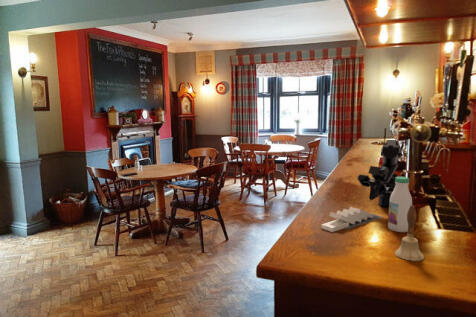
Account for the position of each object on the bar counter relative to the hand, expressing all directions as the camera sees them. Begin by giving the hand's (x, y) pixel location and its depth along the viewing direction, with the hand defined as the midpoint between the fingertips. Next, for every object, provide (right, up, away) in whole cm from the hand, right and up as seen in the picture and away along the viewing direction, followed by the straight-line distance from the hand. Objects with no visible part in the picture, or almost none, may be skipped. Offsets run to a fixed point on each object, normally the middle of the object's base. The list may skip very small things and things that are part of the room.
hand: (370, 199), depth 147 cm
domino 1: (-11, -7, -8) cm, 16 cm away
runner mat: (-7, -8, -5) cm, 12 cm away
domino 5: (-1, -6, -1) cm, 7 cm away
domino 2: (-14, -8, -10) cm, 19 cm away
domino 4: (-5, -7, -3) cm, 9 cm away
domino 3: (-8, -7, -6) cm, 12 cm away
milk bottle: (+5, -10, -15) cm, 18 cm away
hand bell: (-2, -13, -37) cm, 40 cm away
